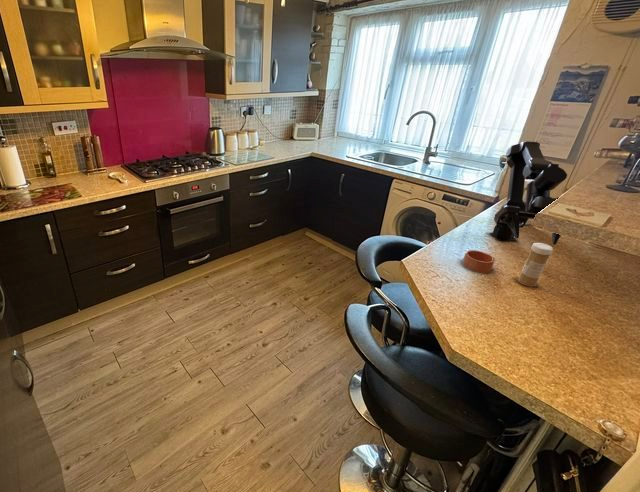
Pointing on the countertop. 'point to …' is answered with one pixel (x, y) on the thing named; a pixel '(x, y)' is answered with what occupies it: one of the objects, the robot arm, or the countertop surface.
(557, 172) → the robot arm
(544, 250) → the sprinkles bottle
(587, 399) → the countertop surface
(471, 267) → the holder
